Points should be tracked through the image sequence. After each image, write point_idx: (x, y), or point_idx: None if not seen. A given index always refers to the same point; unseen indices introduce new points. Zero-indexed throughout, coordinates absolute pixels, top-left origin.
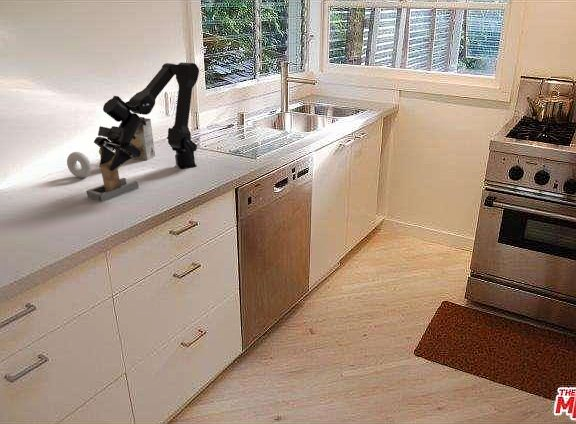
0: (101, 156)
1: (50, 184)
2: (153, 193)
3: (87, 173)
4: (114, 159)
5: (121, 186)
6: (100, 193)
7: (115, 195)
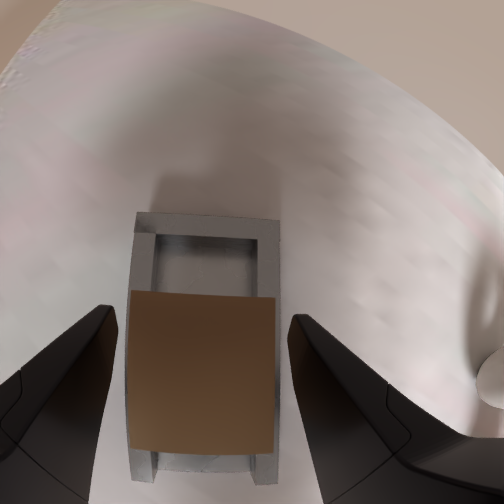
0: (387, 392)
1: (494, 261)
2: None
3: (479, 383)
4: (25, 382)
5: None
6: (159, 229)
7: None
